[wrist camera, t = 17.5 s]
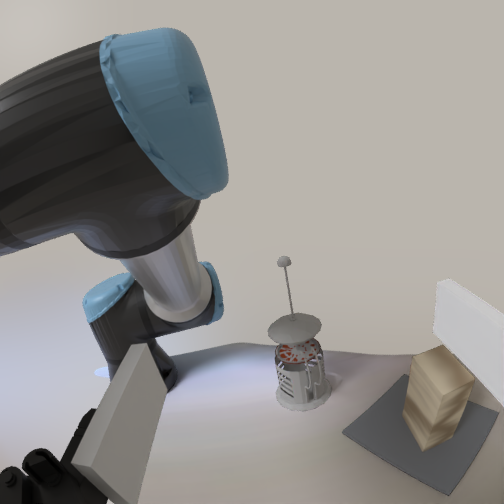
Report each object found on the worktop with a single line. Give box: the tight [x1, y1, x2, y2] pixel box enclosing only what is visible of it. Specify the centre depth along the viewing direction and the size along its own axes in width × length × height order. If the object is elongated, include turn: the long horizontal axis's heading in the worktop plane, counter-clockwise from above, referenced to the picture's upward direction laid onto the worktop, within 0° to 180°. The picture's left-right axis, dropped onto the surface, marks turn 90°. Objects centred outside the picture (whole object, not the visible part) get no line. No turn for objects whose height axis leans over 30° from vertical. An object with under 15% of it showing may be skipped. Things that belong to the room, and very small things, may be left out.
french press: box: [268, 256, 332, 411], centre depth 42 cm, size 10×12×25 cm
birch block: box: [402, 345, 475, 452], centre depth 29 cm, size 5×8×12 cm, turn 2°
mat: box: [342, 374, 499, 496], centre depth 31 cm, size 20×16×1 cm
